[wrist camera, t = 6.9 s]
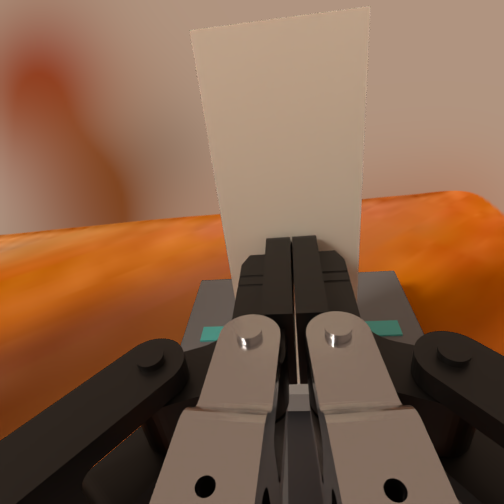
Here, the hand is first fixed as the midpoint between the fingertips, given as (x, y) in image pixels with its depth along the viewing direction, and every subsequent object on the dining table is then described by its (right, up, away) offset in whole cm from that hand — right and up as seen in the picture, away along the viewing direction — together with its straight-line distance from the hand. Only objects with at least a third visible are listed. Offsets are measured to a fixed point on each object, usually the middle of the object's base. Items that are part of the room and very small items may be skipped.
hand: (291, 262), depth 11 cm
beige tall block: (+1, -5, +5) cm, 7 cm away
